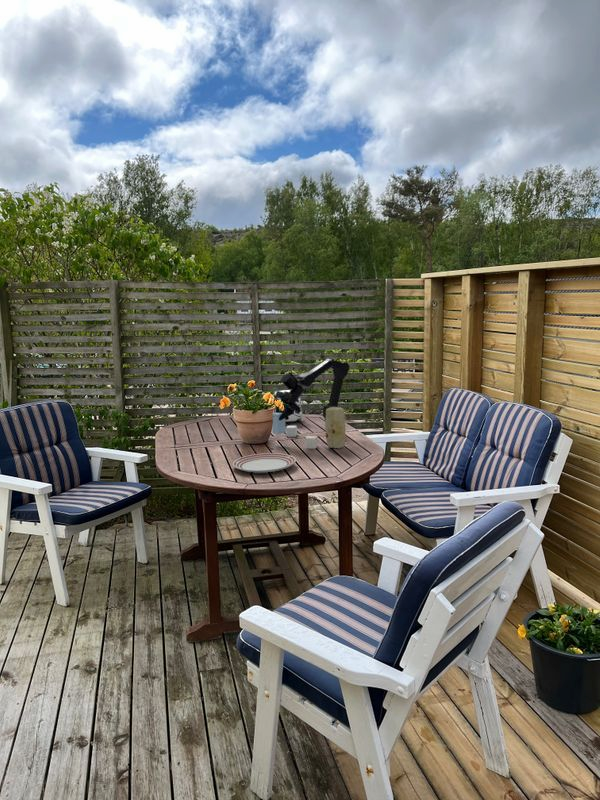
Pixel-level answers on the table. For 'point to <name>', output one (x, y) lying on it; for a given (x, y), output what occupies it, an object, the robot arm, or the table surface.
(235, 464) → the dinner plate
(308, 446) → the cream cube
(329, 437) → the food model
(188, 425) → the table surface
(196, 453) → the table surface
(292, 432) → the pale grey cube
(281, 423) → the dusty blue block
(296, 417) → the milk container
